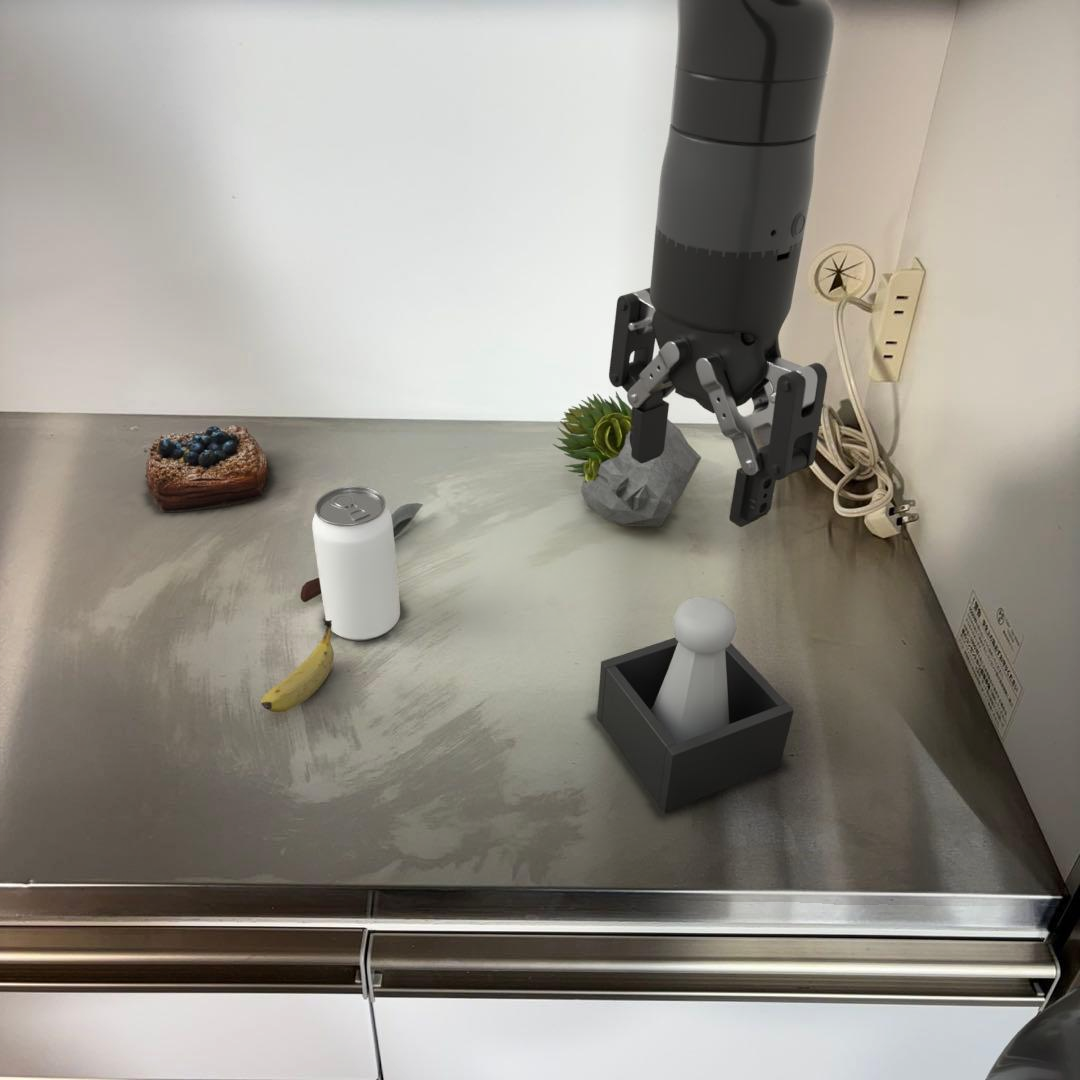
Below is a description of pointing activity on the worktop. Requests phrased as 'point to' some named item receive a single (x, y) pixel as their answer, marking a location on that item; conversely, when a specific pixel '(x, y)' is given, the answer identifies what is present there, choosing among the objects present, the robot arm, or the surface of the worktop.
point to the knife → (399, 522)
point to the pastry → (206, 469)
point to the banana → (302, 678)
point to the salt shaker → (697, 670)
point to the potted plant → (625, 465)
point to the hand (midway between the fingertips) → (694, 487)
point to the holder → (706, 757)
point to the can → (356, 562)
